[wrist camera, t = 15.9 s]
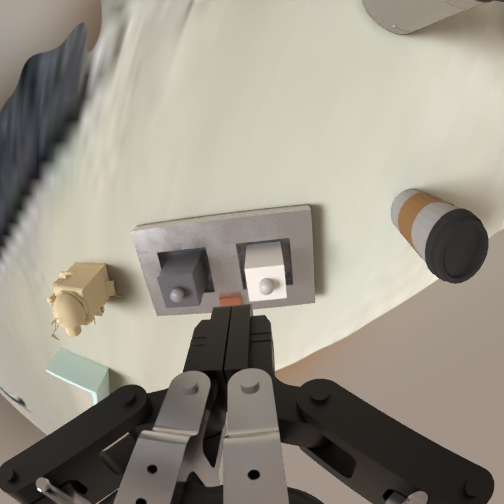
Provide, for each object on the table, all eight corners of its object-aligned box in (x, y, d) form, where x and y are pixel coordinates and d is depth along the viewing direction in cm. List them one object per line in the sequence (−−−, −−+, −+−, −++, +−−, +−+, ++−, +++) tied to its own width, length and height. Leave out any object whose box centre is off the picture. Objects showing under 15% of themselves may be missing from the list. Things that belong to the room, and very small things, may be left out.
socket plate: (137, 225, 41) (128, 233, 38) (307, 204, 40) (311, 211, 37) (161, 306, 47) (155, 318, 44) (312, 293, 45) (315, 305, 42)
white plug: (246, 245, 42) (243, 273, 34) (280, 241, 41) (284, 269, 34) (250, 274, 44) (249, 307, 36) (282, 271, 43) (287, 303, 36)
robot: (75, 301, 48) (34, 354, 34) (63, 261, 44) (13, 310, 31) (124, 305, 47) (87, 367, 34) (114, 262, 44) (67, 318, 30)
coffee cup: (439, 194, 38) (501, 231, 25) (417, 243, 42) (468, 294, 28) (396, 172, 37) (457, 203, 24) (374, 225, 41) (421, 277, 27)
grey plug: (170, 253, 43) (153, 282, 35) (201, 249, 42) (189, 279, 35) (178, 281, 44) (163, 313, 37) (207, 278, 44) (198, 311, 37)
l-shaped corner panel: (61, 346, 53) (45, 369, 47) (109, 366, 55) (96, 392, 48) (67, 378, 58) (54, 400, 51) (110, 397, 60) (100, 420, 53)
